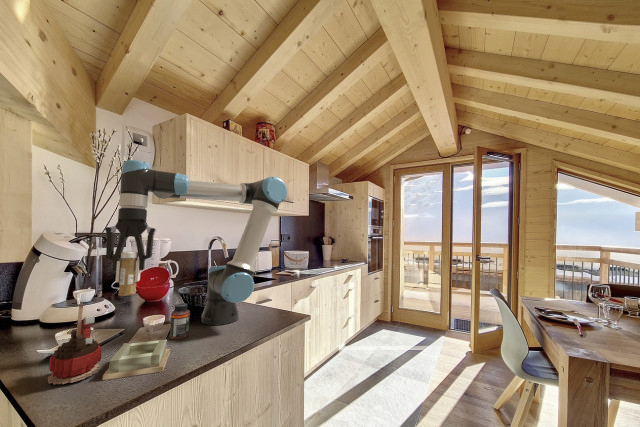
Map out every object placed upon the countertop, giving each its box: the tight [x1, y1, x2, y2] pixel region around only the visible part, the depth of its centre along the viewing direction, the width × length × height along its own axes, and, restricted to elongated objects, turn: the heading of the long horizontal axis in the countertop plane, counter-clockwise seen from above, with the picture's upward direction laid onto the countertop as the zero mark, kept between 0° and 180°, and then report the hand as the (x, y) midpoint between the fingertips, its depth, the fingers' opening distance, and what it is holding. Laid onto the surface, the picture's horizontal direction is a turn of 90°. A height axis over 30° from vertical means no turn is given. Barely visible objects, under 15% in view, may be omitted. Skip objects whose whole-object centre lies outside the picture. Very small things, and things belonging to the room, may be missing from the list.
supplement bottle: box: [169, 302, 191, 341], centre depth 94 cm, size 6×6×11 cm
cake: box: [47, 303, 103, 385], centre depth 67 cm, size 11×9×18 cm
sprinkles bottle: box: [117, 251, 139, 297], centre depth 83 cm, size 5×5×14 cm
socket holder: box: [102, 339, 171, 381], centre depth 73 cm, size 13×12×4 cm
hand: (127, 281), depth 83 cm, fingers closed on sprinkles bottle, 4 cm apart
